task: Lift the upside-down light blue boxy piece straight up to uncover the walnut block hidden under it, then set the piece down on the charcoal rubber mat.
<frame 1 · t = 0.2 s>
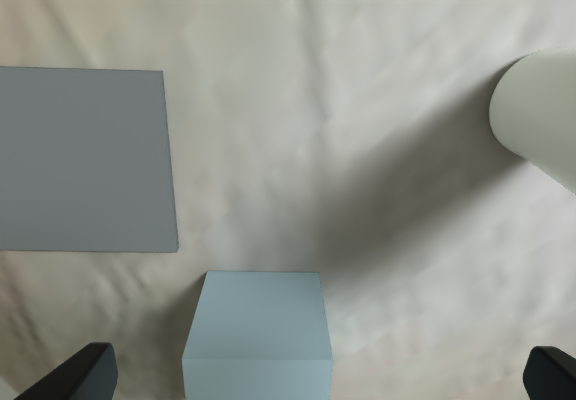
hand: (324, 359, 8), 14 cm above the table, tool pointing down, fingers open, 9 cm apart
charcoal mat: (77, 165, 21), on the table
white tall cylinder: (533, 101, 21), on the table
light blue boxy piece: (263, 316, 26), on the table
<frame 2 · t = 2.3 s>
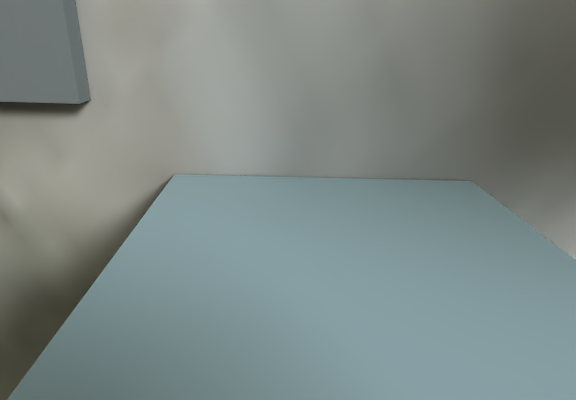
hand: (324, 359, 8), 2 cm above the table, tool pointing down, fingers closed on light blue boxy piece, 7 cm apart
light blue boxy piece: (316, 300, 10), on the table, touching gripper
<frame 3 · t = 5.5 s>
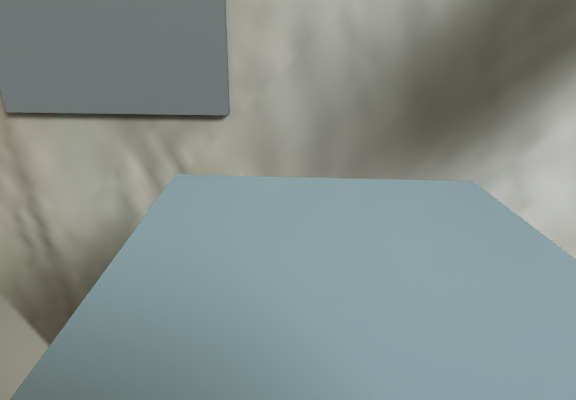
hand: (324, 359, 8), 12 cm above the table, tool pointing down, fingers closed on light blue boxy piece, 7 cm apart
light blue boxy piece: (316, 300, 10), point 10 cm above the table, touching gripper
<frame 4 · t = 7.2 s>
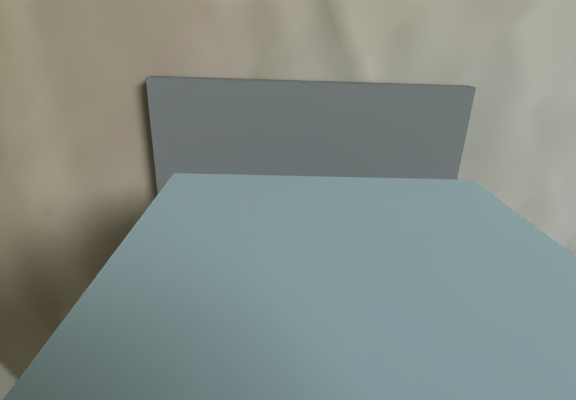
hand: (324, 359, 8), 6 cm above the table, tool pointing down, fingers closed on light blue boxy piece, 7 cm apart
charcoal mat: (304, 224, 14), on the table
light blue boxy piece: (316, 300, 10), point 4 cm above the table, touching gripper
when the fingers open (4 cm above the table, at t = 8.6 s): light blue boxy piece drops 2 cm, resting on charcoal mat.
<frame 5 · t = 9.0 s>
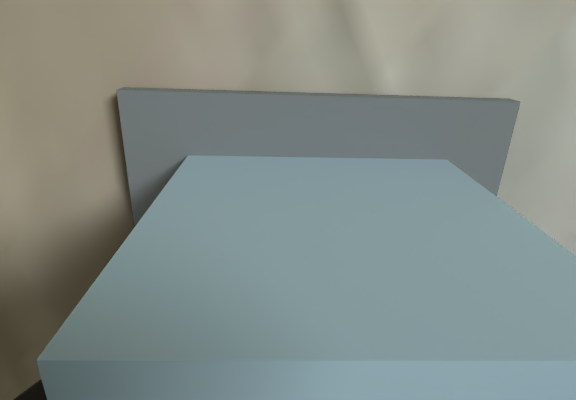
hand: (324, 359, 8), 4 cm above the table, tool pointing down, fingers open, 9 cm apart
charcoal mat: (309, 260, 12), on the table
light blue boxy piece: (312, 268, 12), resting on charcoal mat
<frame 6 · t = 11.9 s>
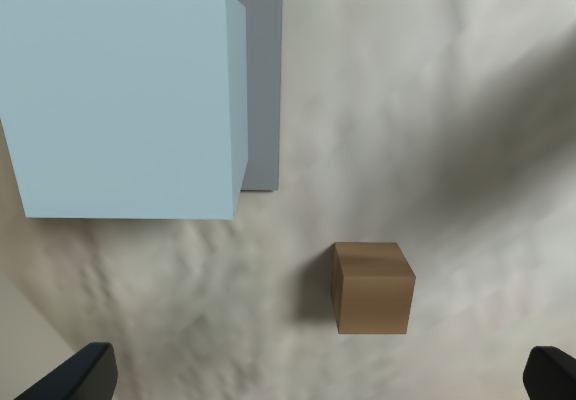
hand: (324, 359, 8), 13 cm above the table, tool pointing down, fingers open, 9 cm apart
charcoal mat: (174, 86, 19), on the table
walnut block: (368, 285, 21), on the table
light blue boxy piece: (173, 86, 18), resting on charcoal mat
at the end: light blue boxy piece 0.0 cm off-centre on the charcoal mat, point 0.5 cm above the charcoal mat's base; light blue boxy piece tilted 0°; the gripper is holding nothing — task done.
